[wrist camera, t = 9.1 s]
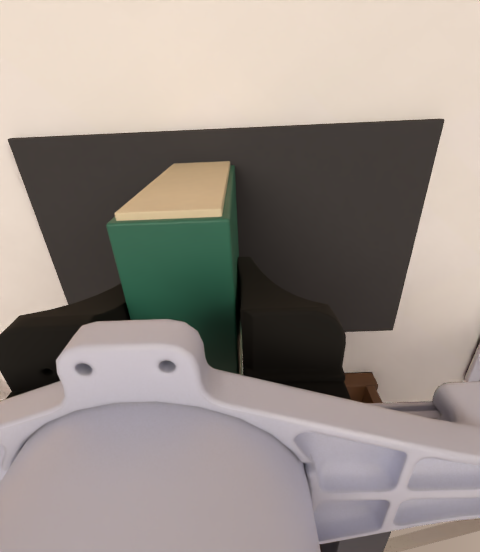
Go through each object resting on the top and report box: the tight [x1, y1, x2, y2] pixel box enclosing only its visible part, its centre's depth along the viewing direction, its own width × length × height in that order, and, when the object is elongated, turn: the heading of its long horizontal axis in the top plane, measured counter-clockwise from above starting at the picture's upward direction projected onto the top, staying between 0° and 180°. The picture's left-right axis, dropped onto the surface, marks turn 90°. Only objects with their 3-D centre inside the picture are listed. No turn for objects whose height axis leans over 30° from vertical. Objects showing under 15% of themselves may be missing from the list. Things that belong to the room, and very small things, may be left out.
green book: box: [106, 161, 243, 375], centre depth 13 cm, size 3×9×8 cm, turn 2°
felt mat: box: [8, 119, 444, 332], centre depth 17 cm, size 20×12×1 cm, turn 92°
